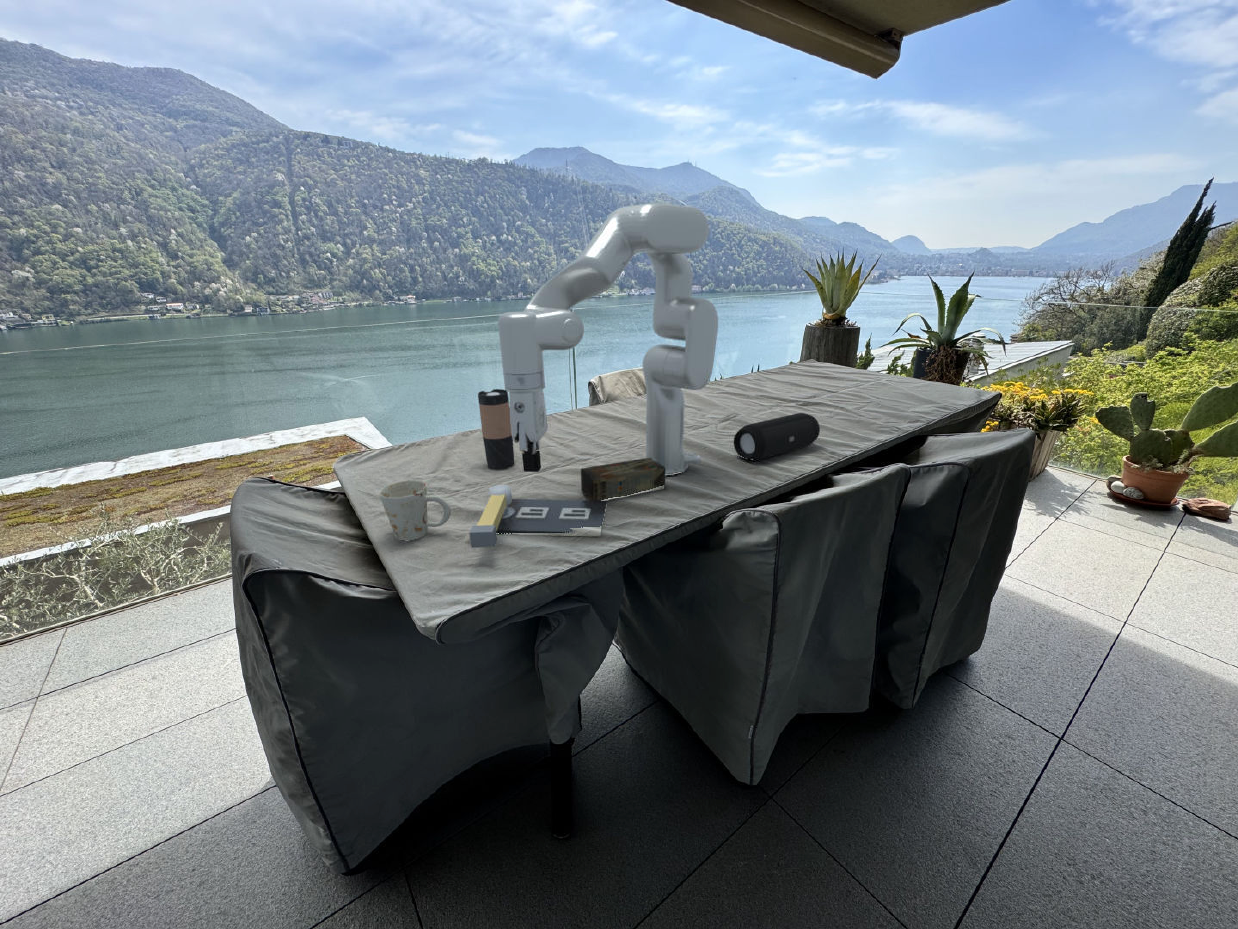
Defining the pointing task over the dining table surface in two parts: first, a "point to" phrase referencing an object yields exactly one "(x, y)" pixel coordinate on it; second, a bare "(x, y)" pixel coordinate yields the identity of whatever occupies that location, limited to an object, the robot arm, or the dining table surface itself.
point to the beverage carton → (621, 478)
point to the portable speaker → (776, 436)
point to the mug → (410, 508)
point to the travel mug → (496, 428)
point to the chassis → (550, 515)
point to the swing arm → (491, 517)
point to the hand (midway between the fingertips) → (532, 470)
